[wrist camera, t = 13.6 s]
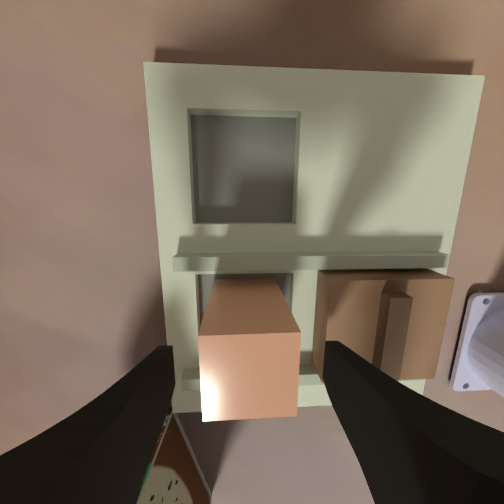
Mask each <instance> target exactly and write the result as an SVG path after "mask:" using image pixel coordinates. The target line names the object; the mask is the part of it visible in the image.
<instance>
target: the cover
mask: <svg viewBox="0 0 504 504" xmlns="http://www.w3.org/2000/svg"><path fill="white" fill-rule="evenodd" d="M454 280H455V279H454V278H451V277H448V276H446V275H443V274H440V273H438V272H435V271H432V270H429V269H427V268H417V269H345V270H318V276H317V290H316V304H315V319H314V333H313V347H312V363H313V365H314V367H315V369H316V371H317V374H318V376H319V378H320V380H321V382H322V383H324V382H323V378H322V375H323V363H324V350H325V341H339V342H341V343H342V344H344V345H345V346H347V347H348V348H350V349H351V350H352V351H354V352H355V353H357V354H358V355H359V356H361V357H362V358H364V359H365V360H366V361H368V362H369V363H371V364H372V365H374V366H375V367H377V368H378V369H379V370H381V371H383V372H384V373H386V374H387V375H389V376H390V377H392V378H393V379H395V380H397V381H399V380H411V379H433V378H435V373H436V368H437V363H438V358H439V353H440V348H441V344H442V339H443V334H444V329H445V324H446V319H447V314H448V309H449V305H450V300H451V295H452V290H453V285H454Z"/></svg>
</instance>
